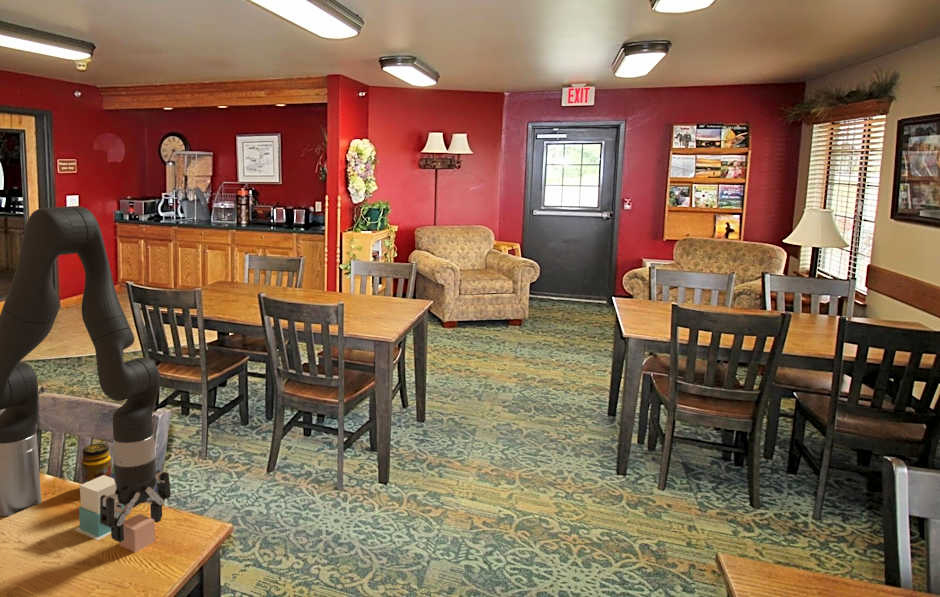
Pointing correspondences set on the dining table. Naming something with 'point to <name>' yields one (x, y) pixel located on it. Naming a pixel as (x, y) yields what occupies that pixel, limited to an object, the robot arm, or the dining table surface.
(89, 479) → the condiment
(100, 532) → the teal base brick
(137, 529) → the pink cube
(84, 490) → the cream brick
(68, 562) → the dining table surface
